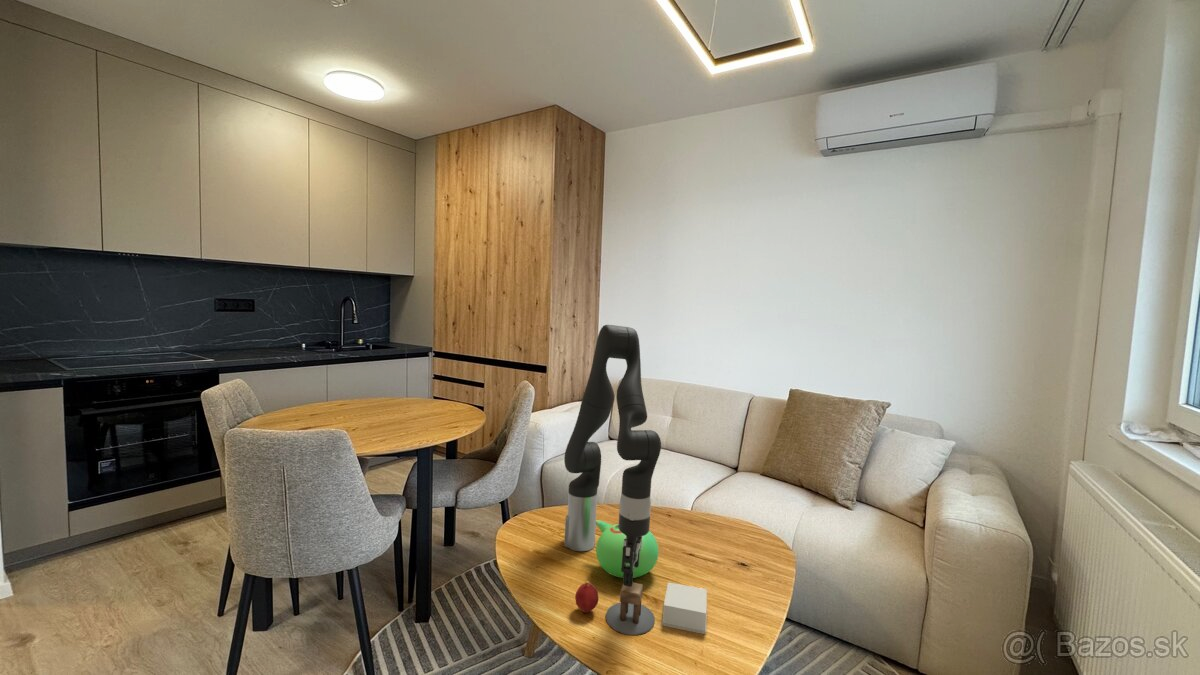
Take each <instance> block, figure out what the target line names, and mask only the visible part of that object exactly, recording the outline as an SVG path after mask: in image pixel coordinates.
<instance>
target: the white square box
mask: <svg viewBox="0 0 1200 675" xmlns="http://www.w3.org/2000/svg"><path fill="white" fill-rule="evenodd" d="M707 599H708V589H706V588H700V587H695V586H691V585H690V586H689V585H685V584H679V583H674V582H669V581H668V582H667V586H666V592H665V597H664V603H663V612H662V613H663V614H662V615H663V616H662V620H661V626H663V627H667V628H668V627H669V628H672V629H677V630H683V631H687V632H693V633H698V634H702V635H707V614H708V605H707Z"/></svg>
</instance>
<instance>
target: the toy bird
mask: <svg viewBox="0 0 1200 675" xmlns="http://www.w3.org/2000/svg"><path fill="white" fill-rule="evenodd" d="M595 523H596V527H597V528H598V529H599V530H600V531H601V532H602V533H600V536H599V537H598V539H597V542H596V547H595V548H596V550H595V552H596V558H597V561H598V563H599V565H600V566H601V567H602V569H603V570H604V571H605V572H607V573H608V574H610V575H612V576H614V577H617V578H621V579H623V575H624V572H621V568H622V555H623V546H624V545H623V544H624V539H626V535H625V534H623V533H622V532H621V531H620V530H619V523H617V524H613V525H612V524H610V523H607V522H605V521H603V520H599V519H598V520H597V519H596V521H595ZM659 553H660V552H659V544H658V542H657V538H656V537H655V536H654V534H653V533H652V532H651V531H650V530H649V532H648V533H647V534H646V535H644V536H642V547H641V551H640V553H639V566H638V567H634V571H633V579H634V578H639V577H642V576H644V575H646V574H648V573H649V572H651V570H653V569H654V567H655V566H656V564H657V561H658V559H659ZM626 565H628V566H630V564H629V563H626Z"/></svg>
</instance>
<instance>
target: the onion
mask: <svg viewBox="0 0 1200 675" xmlns="http://www.w3.org/2000/svg"><path fill="white" fill-rule="evenodd" d="M574 598H575V604H576V606H577V608H578V609H579V610H581V611H582V612H583V613H586V614H588V613H590V612H591V611H593V610H594V609H595V608H596V607H597V605H598V604H599V603H598V602H599V592H598V590H597V588H596V587H595V586H594V585H593V583H591V582H590V581H588V580H587V581H586V582H585V583H583V584H581V585H580V586H579V587H578V588H577V591H576V593H575V597H574Z"/></svg>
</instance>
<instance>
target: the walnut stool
mask: <svg viewBox="0 0 1200 675" xmlns="http://www.w3.org/2000/svg"><path fill="white" fill-rule="evenodd" d="M643 588H644V584H642V583H637V582H633V584H632V586H631V587H629V586H624V585H623V584H622V586H621V589H620V591H619V593H620V594H619V603H620V602H621V608H620V620H621V621H625V620H626V613H628V604H629V603H630V604H634V609H633V623H634V624H638V623H639V616H640V615H641V605H642V598H643V590H644V589H643Z"/></svg>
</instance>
